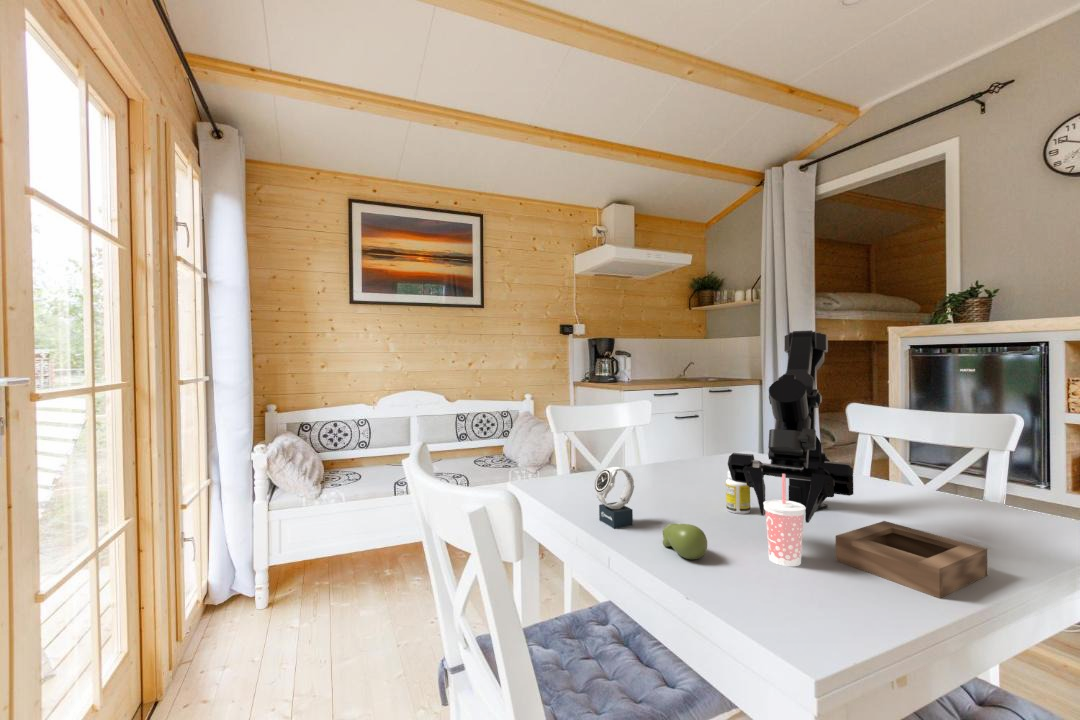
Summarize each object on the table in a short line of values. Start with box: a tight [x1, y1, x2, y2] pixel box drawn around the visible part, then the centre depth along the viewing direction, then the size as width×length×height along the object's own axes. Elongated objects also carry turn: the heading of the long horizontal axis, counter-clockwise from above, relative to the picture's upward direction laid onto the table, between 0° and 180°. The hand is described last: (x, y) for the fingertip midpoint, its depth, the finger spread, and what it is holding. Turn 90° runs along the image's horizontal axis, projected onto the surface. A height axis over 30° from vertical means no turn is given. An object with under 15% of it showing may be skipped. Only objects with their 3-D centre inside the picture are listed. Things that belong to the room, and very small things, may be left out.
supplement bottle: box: [725, 469, 751, 515], centre depth 103 cm, size 5×5×8 cm
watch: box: [594, 466, 635, 530], centre depth 97 cm, size 6×8×11 cm
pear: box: [662, 523, 708, 560], centre depth 82 cm, size 6×5×10 cm
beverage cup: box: [763, 474, 806, 567], centre depth 78 cm, size 6×6×14 cm
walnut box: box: [835, 520, 988, 599], centre depth 75 cm, size 14×14×4 cm
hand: (784, 517), depth 78 cm, fingers closed on beverage cup, 6 cm apart
